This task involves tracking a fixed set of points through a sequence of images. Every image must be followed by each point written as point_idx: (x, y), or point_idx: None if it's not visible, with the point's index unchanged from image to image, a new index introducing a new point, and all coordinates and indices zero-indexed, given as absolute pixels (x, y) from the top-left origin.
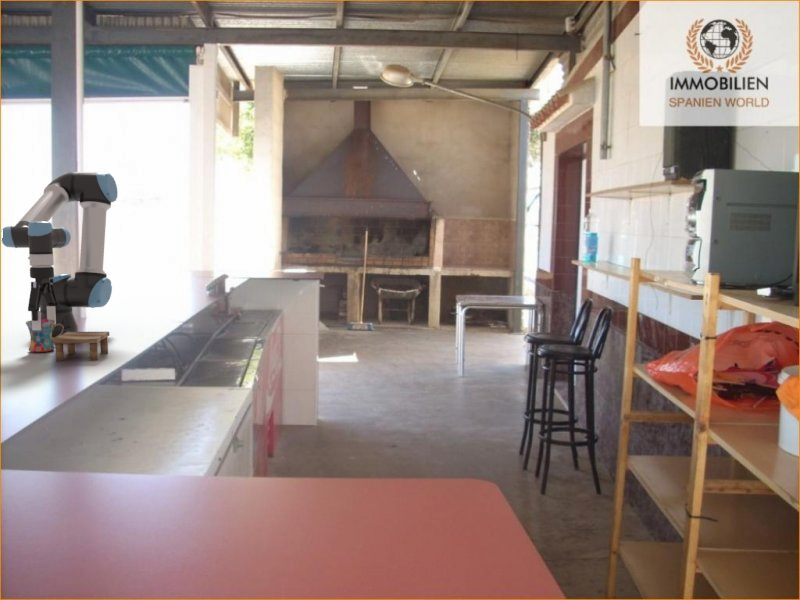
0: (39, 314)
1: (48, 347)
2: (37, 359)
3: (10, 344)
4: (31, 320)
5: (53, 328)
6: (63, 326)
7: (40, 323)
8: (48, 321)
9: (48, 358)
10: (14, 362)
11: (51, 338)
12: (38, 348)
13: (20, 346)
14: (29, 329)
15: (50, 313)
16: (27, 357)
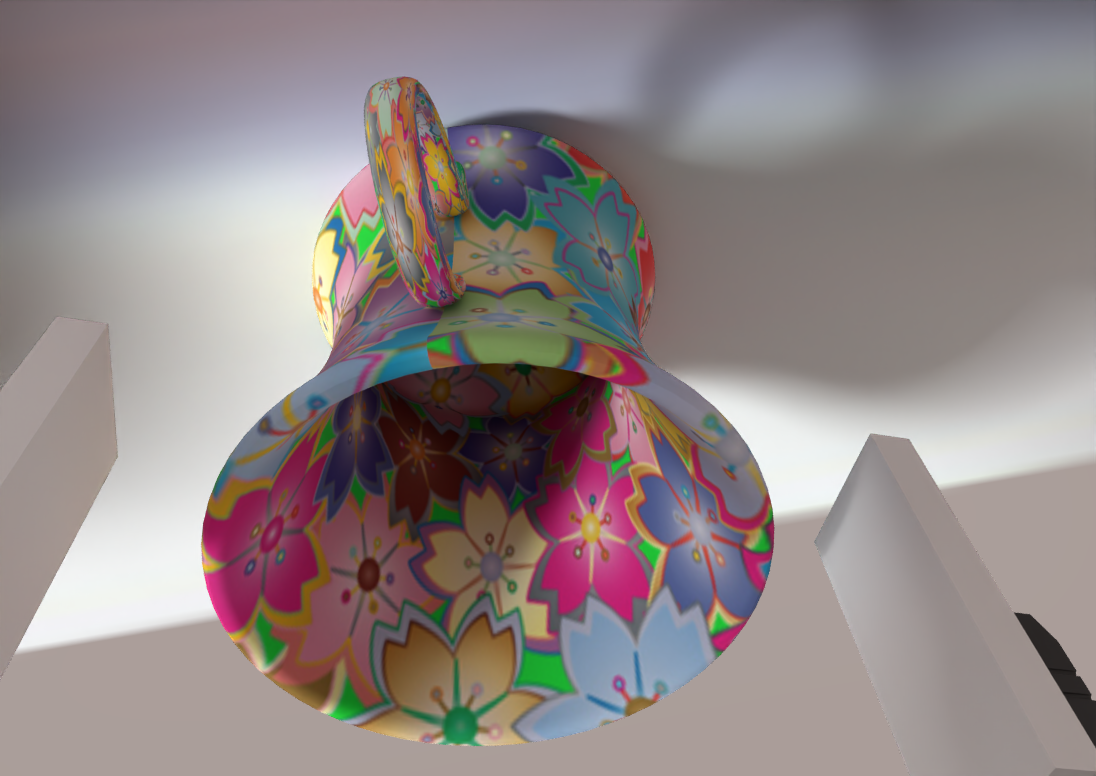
0: (1057, 697)
1: (612, 205)
2: (1040, 227)
3: None
4: (346, 714)
5: (464, 285)
6: (400, 100)
7: (939, 524)
8: (271, 469)
9: (1048, 104)
10: (1077, 415)
11: (507, 231)
12: (642, 317)
13: (128, 540)
14: (596, 598)
15: (8, 580)
16: (851, 353)
